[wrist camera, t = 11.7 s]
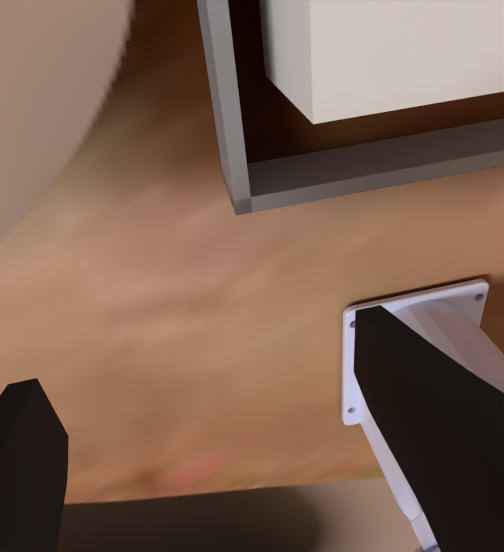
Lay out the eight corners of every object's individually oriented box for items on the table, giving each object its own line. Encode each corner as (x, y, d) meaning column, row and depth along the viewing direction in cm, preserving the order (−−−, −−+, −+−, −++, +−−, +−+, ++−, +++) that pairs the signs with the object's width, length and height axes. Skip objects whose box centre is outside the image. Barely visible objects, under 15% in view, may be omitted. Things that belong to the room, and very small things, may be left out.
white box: (417, 50, 18) (519, 88, 13) (264, 74, 18) (313, 124, 13) (431, -99, 16) (564, -119, 11) (252, -76, 15) (306, -86, 10)
